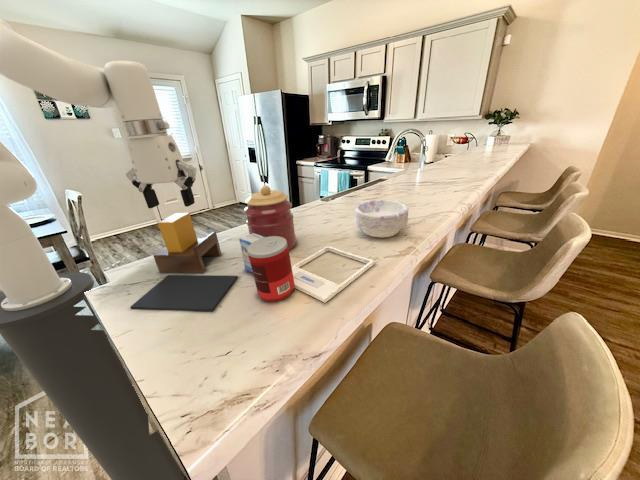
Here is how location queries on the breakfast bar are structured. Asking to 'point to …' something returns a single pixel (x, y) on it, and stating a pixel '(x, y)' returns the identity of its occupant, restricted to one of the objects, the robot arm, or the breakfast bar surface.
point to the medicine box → (244, 244)
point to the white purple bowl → (381, 217)
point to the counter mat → (186, 293)
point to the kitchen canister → (270, 215)
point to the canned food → (271, 268)
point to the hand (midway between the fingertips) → (172, 205)
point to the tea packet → (178, 232)
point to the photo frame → (319, 285)
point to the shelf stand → (188, 256)
